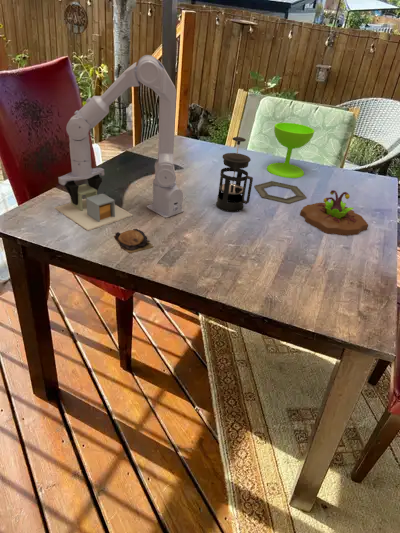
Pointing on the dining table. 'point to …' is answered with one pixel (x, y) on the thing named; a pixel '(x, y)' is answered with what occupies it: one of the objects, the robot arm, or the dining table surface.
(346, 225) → the plant
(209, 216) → the dining table surface
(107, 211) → the orange block
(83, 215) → the mat
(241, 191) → the french press
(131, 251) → the wood slice
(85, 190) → the far cover
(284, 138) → the wineglass
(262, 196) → the hexagonal trivet
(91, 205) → the near cover
